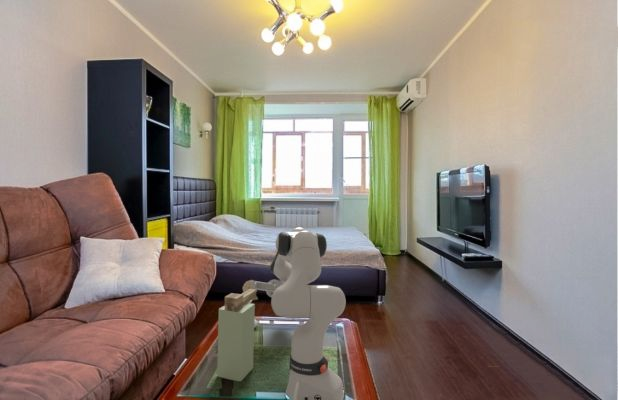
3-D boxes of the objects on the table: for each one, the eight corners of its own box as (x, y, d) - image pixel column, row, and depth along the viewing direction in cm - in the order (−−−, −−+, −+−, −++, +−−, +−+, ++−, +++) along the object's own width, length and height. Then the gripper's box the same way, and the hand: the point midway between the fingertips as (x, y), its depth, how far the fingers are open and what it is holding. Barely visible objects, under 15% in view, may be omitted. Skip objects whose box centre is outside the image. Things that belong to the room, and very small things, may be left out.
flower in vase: (230, 327, 171) (231, 279, 170) (246, 320, 180) (247, 274, 179) (248, 335, 164) (250, 284, 162) (264, 327, 173) (266, 279, 172)
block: (258, 297, 142) (258, 285, 141) (236, 312, 124) (236, 298, 124) (247, 295, 143) (247, 283, 143) (224, 310, 126) (224, 296, 126)
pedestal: (253, 368, 134) (254, 304, 133) (240, 381, 125) (242, 313, 124) (230, 363, 137) (232, 300, 136) (217, 376, 128) (218, 309, 127)
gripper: (257, 279, 173) (246, 276, 161) (294, 285, 167) (286, 282, 155) (254, 292, 171) (243, 289, 159) (292, 298, 165) (283, 296, 153)
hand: (264, 286), depth 157 cm, fingers open, 8 cm apart
